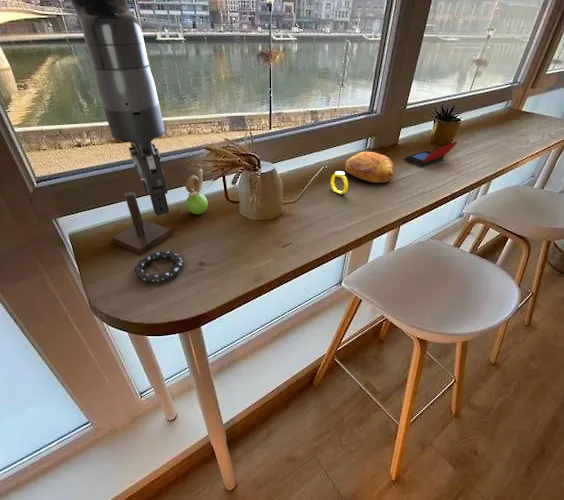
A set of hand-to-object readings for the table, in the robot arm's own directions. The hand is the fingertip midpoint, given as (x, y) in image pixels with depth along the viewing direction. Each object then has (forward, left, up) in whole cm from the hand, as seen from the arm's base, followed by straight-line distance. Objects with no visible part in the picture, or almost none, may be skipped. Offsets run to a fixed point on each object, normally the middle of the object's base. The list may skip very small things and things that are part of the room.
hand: (157, 202), depth 56 cm
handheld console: (+88, -33, -16) cm, 95 cm away
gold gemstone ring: (+50, -15, -16) cm, 55 cm away
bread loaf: (+67, -19, -16) cm, 71 cm away
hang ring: (-1, +3, -15) cm, 15 cm away
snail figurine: (+21, +12, -16) cm, 29 cm away
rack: (+5, +15, -16) cm, 22 cm away
